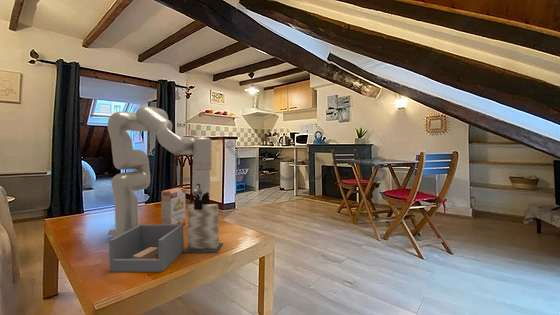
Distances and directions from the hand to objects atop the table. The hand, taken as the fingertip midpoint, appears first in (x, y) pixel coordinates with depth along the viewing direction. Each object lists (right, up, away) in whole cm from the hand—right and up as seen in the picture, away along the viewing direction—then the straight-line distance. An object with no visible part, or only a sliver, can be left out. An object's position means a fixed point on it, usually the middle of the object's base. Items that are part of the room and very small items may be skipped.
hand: (202, 206), depth 111 cm
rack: (-17, -18, -11) cm, 27 cm away
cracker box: (-25, -17, +32) cm, 44 cm away
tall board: (+1, -17, 0) cm, 17 cm away
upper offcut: (-17, -16, -14) cm, 27 cm away
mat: (+1, -18, 0) cm, 18 cm away
